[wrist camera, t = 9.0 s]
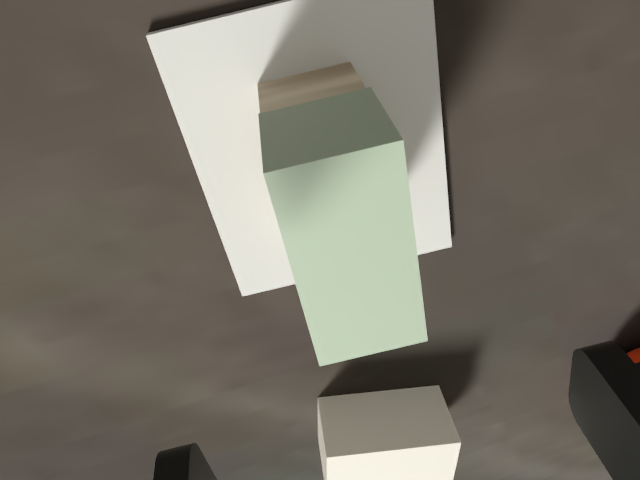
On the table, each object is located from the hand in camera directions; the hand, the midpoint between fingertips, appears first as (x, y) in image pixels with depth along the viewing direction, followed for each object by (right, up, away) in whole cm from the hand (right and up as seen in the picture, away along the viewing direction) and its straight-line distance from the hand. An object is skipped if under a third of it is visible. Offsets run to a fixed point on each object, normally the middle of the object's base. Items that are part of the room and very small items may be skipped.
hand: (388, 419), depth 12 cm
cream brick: (+2, -6, +21) cm, 22 cm away
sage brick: (-1, +5, +7) cm, 9 cm away
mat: (-1, +7, +11) cm, 13 cm away
